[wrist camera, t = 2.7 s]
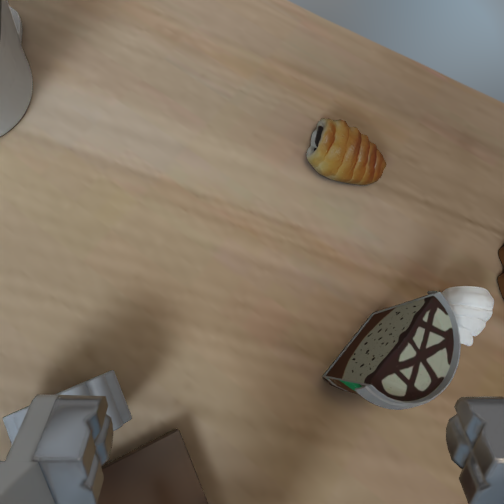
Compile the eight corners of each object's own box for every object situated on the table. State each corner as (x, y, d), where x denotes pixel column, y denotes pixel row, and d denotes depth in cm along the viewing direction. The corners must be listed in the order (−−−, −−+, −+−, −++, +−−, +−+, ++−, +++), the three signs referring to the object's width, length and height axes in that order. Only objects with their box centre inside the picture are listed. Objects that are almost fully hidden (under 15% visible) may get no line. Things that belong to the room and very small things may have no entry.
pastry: (381, 151, 58) (400, 137, 54) (371, 200, 56) (390, 189, 52) (312, 120, 56) (328, 103, 52) (299, 170, 54) (315, 156, 50)
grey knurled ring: (11, 413, 39) (-6, 421, 31) (110, 370, 42) (116, 368, 35) (28, 460, 38) (15, 480, 31) (126, 413, 42) (136, 421, 34)
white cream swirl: (428, 342, 54) (464, 338, 49) (430, 290, 55) (464, 281, 50) (468, 350, 55) (506, 347, 50) (468, 299, 57) (505, 292, 52)
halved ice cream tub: (354, 431, 48) (418, 444, 39) (312, 388, 48) (367, 390, 39) (417, 343, 53) (487, 336, 44) (380, 303, 53) (442, 287, 44)
